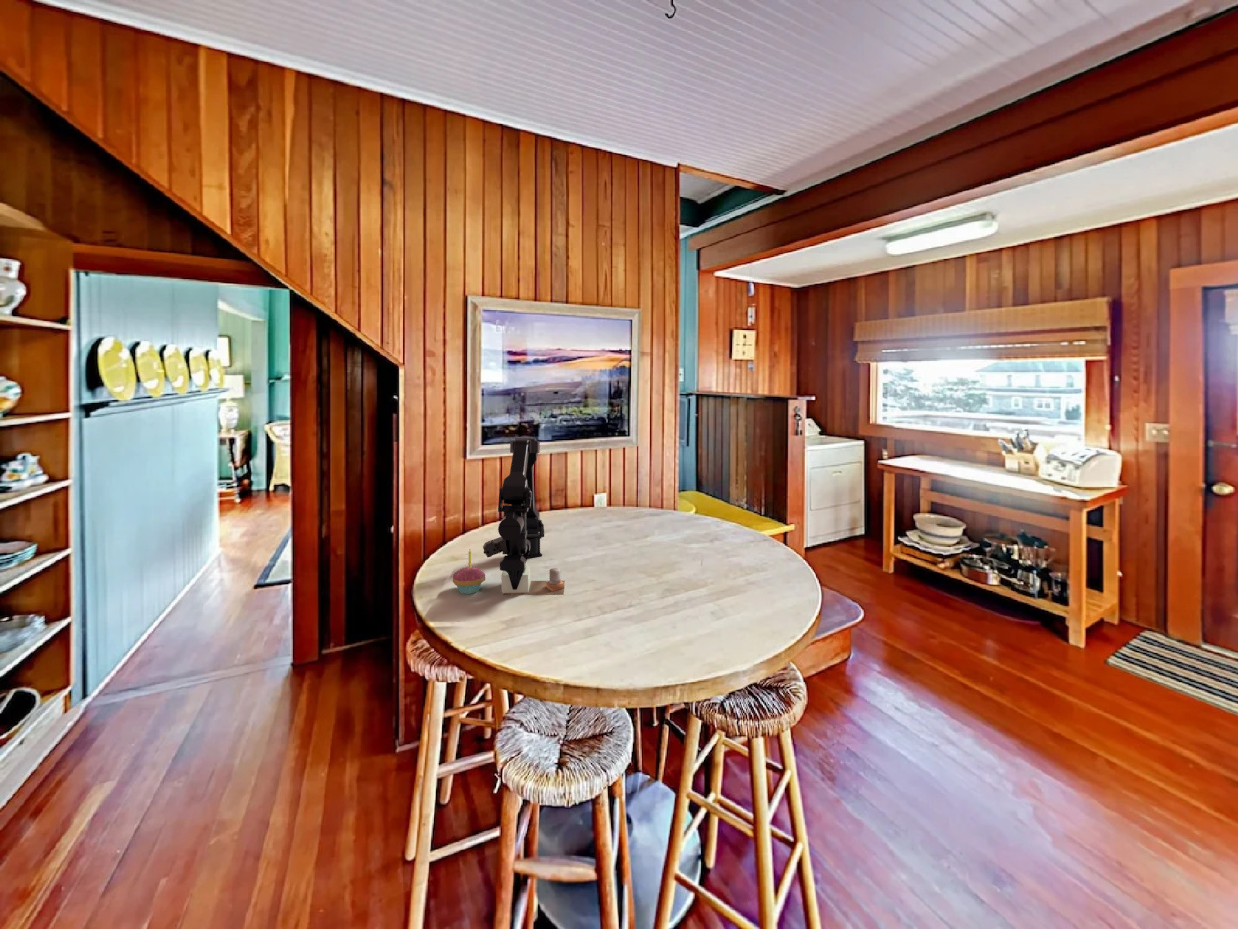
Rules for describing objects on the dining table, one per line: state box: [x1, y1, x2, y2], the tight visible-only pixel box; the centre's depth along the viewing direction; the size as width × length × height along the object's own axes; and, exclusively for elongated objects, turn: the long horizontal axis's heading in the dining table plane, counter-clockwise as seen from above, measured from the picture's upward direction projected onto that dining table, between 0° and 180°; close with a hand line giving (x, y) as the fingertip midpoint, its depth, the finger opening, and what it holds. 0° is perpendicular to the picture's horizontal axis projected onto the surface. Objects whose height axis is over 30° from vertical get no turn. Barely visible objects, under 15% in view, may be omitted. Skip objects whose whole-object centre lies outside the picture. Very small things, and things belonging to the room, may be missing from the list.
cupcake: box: [452, 550, 486, 594], centre depth 151 cm, size 9×8×12 cm
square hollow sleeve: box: [500, 565, 532, 594], centre depth 153 cm, size 7×7×5 cm
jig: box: [502, 567, 566, 596], centre depth 153 cm, size 16×10×6 cm, turn 94°
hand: (516, 584), depth 153 cm, fingers closed on square hollow sleeve, 7 cm apart
